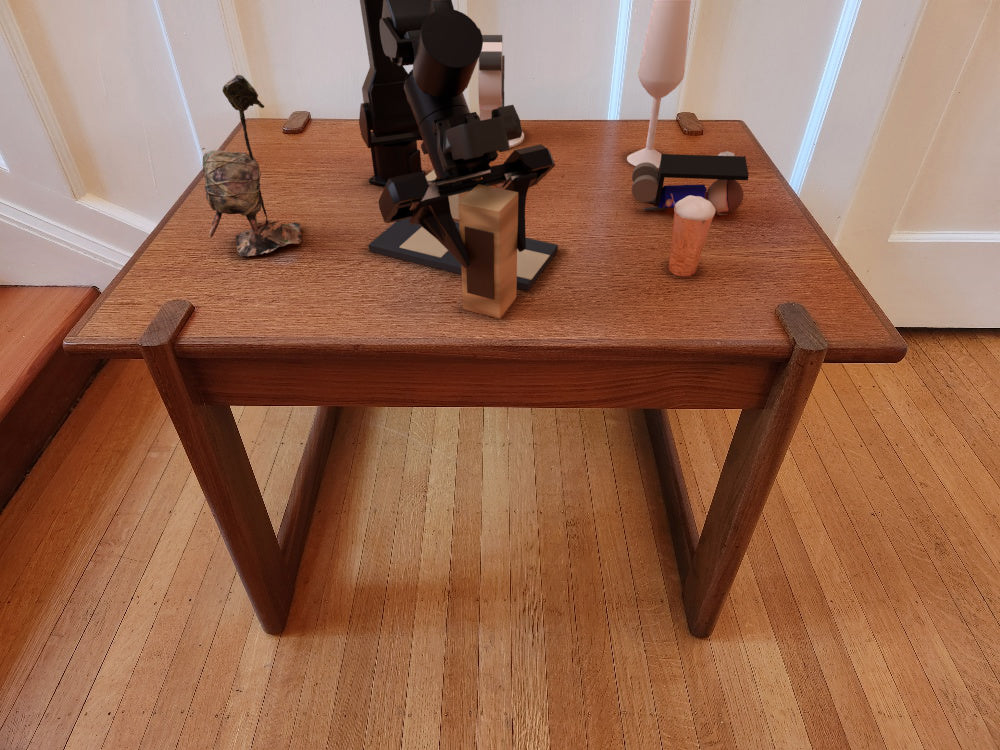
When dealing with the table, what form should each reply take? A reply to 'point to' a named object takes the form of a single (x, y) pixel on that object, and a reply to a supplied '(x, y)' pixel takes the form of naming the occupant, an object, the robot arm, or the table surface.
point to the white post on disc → (492, 79)
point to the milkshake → (689, 233)
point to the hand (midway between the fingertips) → (495, 258)
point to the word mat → (430, 252)
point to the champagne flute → (662, 64)
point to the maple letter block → (489, 249)
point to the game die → (726, 154)
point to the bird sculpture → (243, 185)
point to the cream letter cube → (450, 197)
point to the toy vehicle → (720, 193)
